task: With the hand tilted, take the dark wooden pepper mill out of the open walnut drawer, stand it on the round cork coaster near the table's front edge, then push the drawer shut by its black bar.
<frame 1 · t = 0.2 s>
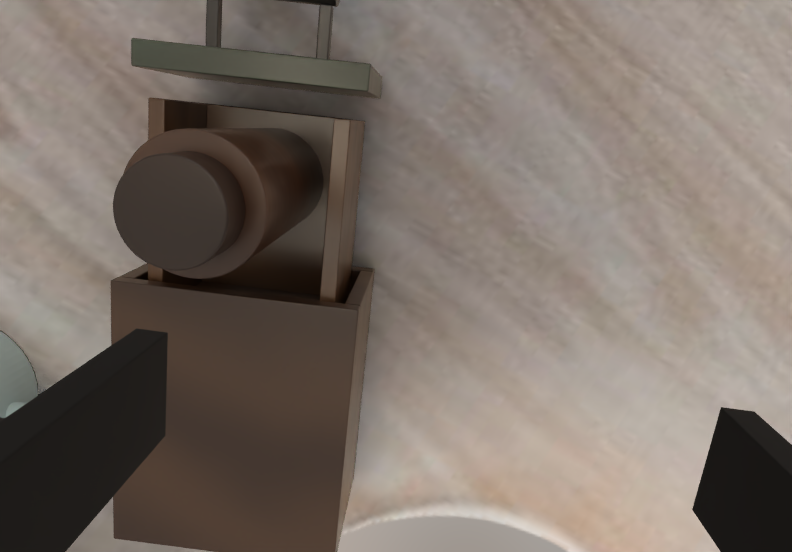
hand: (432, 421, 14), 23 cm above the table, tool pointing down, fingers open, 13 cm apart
mug 2: (6, 387, 40), on the table
cabinet: (271, 366, 39), on the table
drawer: (265, 151, 31), point 4 cm above the table, slide at 10.0 cm, touching pepper mill
pepper mill: (274, 178, 34), point 2 cm above the table, touching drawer
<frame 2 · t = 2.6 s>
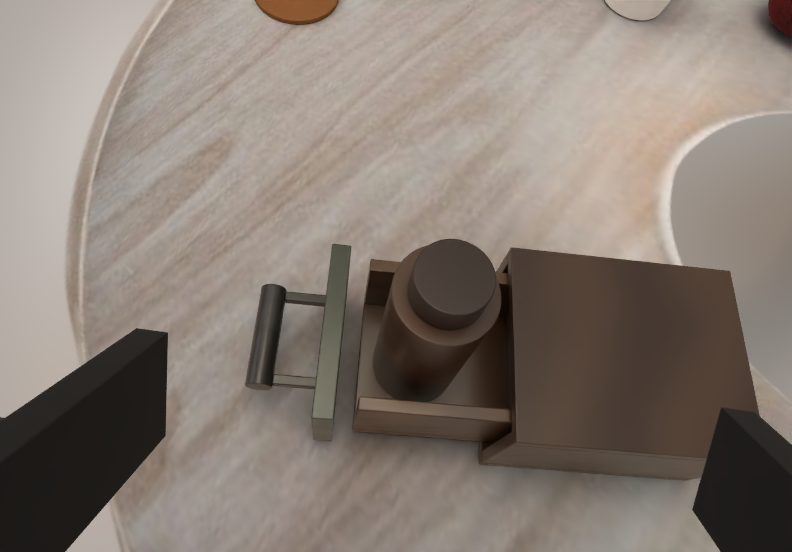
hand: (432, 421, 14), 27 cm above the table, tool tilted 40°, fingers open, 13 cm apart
cabinet: (577, 385, 43), on the table
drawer: (394, 350, 38), point 4 cm above the table, slide at 10.0 cm, touching pepper mill
apple: (786, 28, 63), on the table
pepper mill: (413, 362, 41), point 2 cm above the table, touching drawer
cup: (630, 0, 62), on the table
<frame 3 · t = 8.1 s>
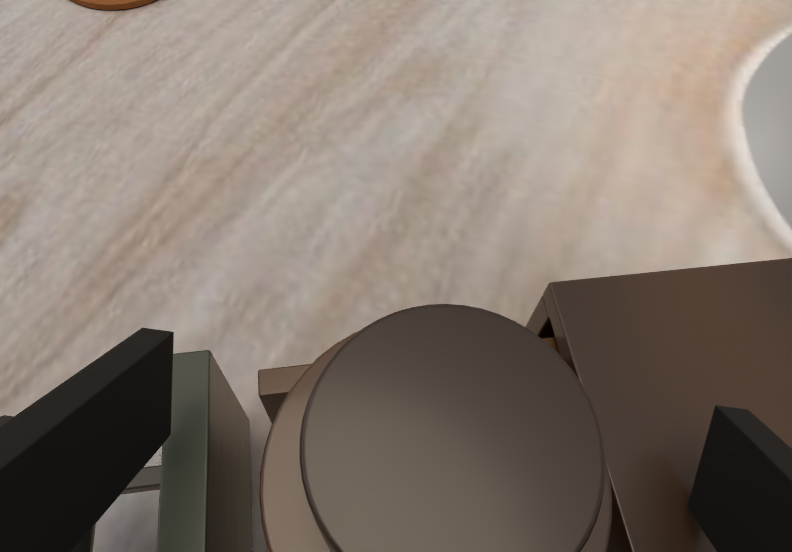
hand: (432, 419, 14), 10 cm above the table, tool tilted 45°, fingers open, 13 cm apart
cabinet: (713, 510, 23), on the table
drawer: (349, 551, 18), point 4 cm above the table, slide at 10.0 cm, touching pepper mill
pepper mill: (399, 551, 20), point 2 cm above the table, touching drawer
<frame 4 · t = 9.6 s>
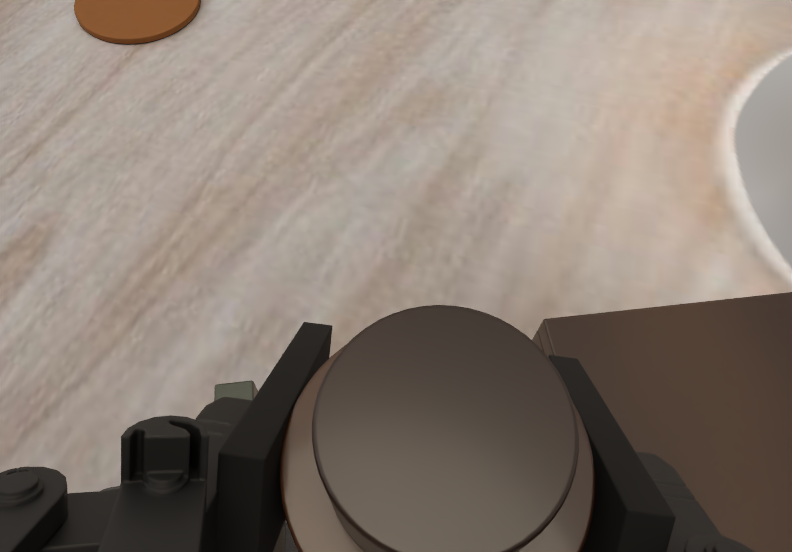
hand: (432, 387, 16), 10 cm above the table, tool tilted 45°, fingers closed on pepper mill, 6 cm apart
cabinet: (702, 526, 24), on the table
coaster: (139, 4, 40), on the table
pepper mill: (415, 549, 21), point 3 cm above the table, touching gripper
when the fingers open (8 cm above the table, at t = 20.0 s): pepper mill stays where it is, resting on coaster.
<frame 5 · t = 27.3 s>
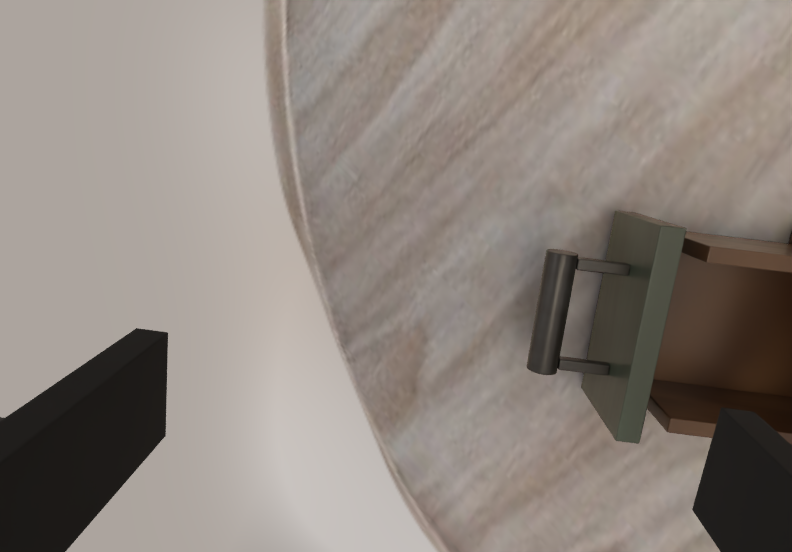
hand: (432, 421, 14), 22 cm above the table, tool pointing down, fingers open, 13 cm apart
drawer: (701, 328, 32), point 4 cm above the table, slide at 9.3 cm
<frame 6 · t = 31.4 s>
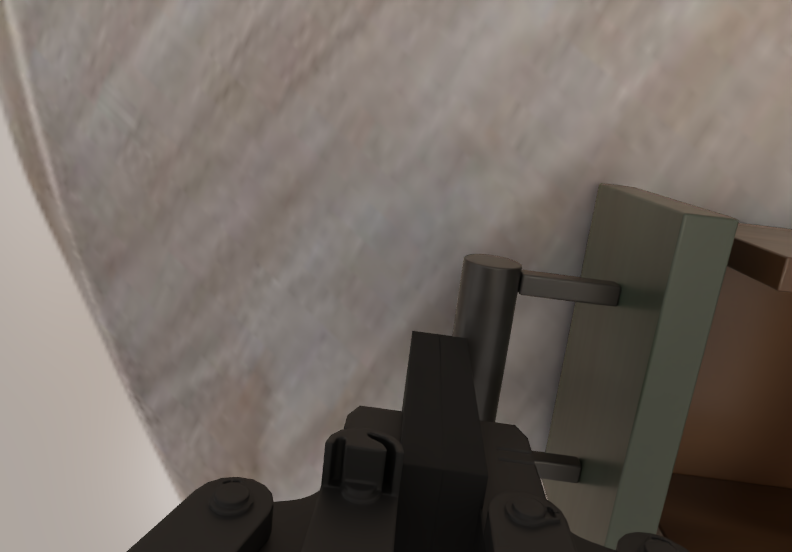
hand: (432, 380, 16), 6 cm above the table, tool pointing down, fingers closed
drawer: (751, 400, 17), point 4 cm above the table, slide at 8.4 cm, touching gripper
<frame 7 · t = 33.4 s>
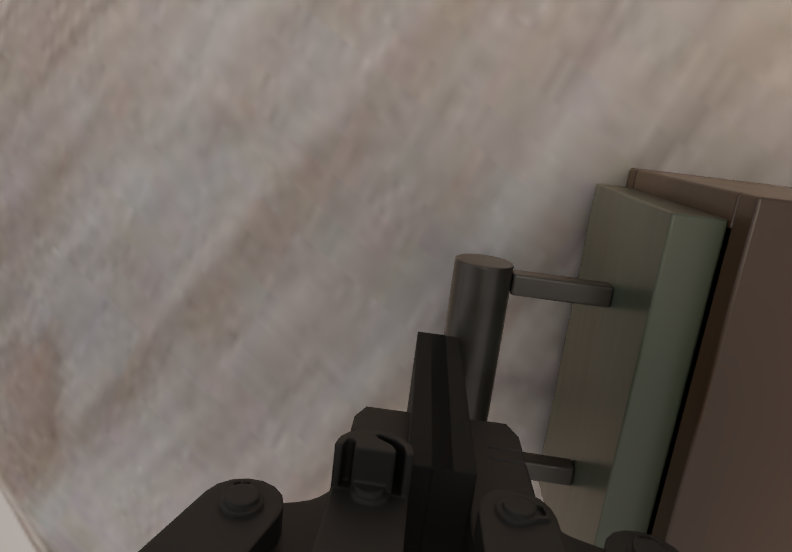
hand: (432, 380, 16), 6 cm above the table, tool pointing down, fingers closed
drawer: (748, 404, 17), point 4 cm above the table, slide at 0.0 cm, touching cabinet, gripper
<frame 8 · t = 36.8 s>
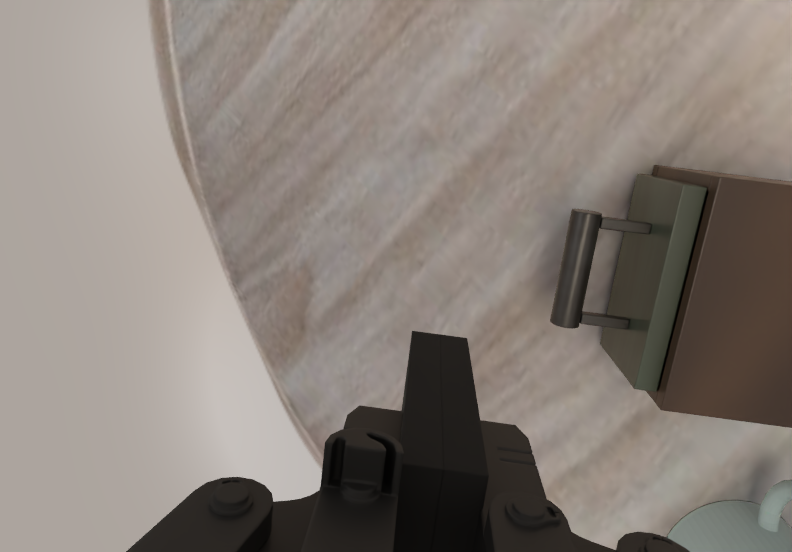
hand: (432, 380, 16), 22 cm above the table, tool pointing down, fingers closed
mug 2: (736, 527, 42), on the table
cabinet: (748, 276, 37), on the table
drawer: (717, 285, 33), point 4 cm above the table, slide at 0.0 cm
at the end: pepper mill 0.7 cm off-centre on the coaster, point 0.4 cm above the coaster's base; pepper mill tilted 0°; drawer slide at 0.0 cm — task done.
